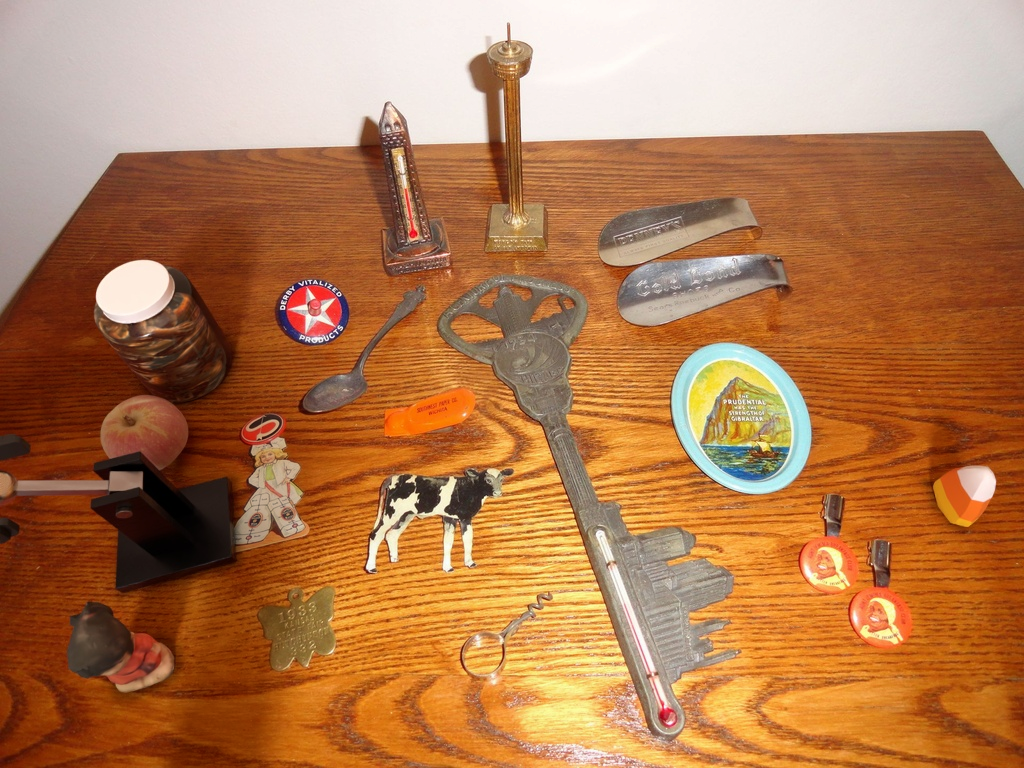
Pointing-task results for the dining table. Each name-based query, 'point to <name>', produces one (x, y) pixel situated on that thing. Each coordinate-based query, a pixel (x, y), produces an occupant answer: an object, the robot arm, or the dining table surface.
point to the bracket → (166, 524)
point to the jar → (162, 330)
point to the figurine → (115, 650)
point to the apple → (145, 430)
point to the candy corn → (964, 493)
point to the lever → (67, 485)
